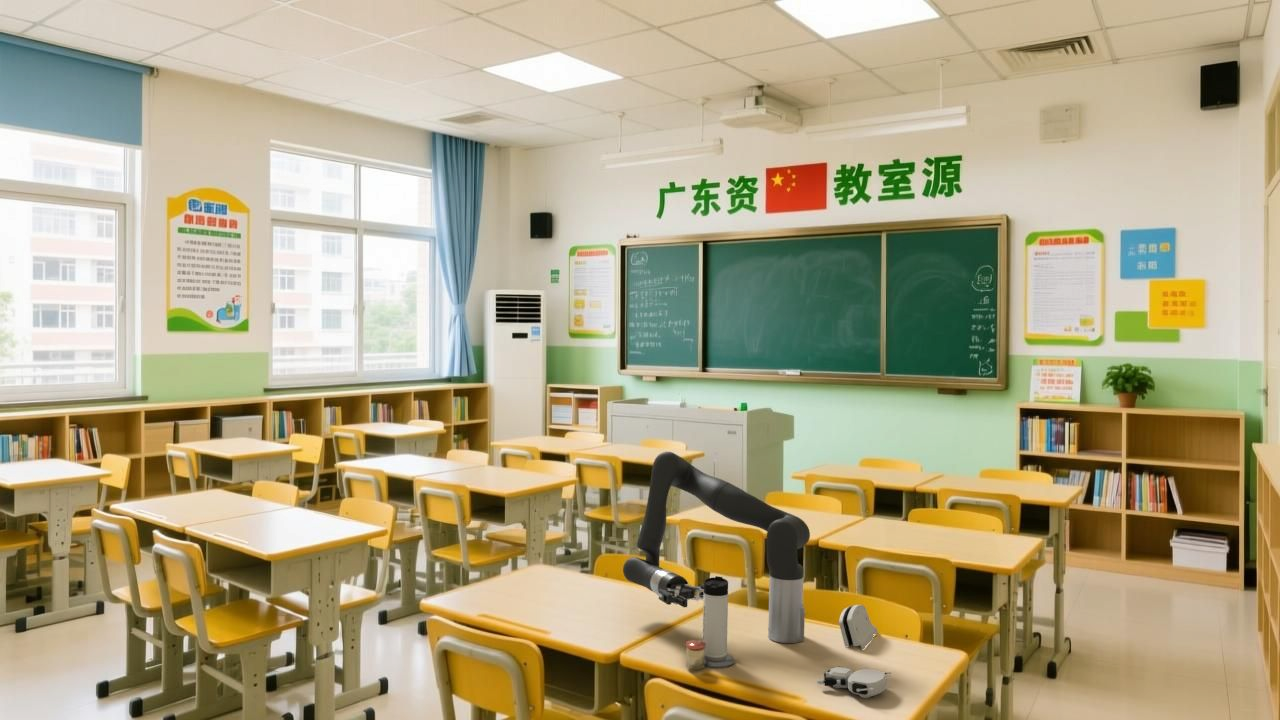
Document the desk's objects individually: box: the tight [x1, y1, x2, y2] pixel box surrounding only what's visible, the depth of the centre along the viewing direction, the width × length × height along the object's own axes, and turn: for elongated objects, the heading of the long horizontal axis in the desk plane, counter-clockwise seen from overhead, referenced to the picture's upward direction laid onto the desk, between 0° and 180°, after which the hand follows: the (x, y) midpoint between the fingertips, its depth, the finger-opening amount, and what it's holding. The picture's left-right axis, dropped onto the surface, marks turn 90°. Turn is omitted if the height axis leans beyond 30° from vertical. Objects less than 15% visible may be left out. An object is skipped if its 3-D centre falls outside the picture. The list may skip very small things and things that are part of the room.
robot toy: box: [816, 666, 892, 699], centre depth 205 cm, size 12×4×15 cm
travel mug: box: [701, 575, 729, 662], centre depth 222 cm, size 6×7×20 cm
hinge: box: [838, 604, 879, 650], centre depth 241 cm, size 17×5×10 cm, turn 152°
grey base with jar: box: [685, 639, 735, 671], centre depth 220 cm, size 16×10×6 cm, turn 138°
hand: (700, 601), depth 228 cm, fingers open, 8 cm apart
